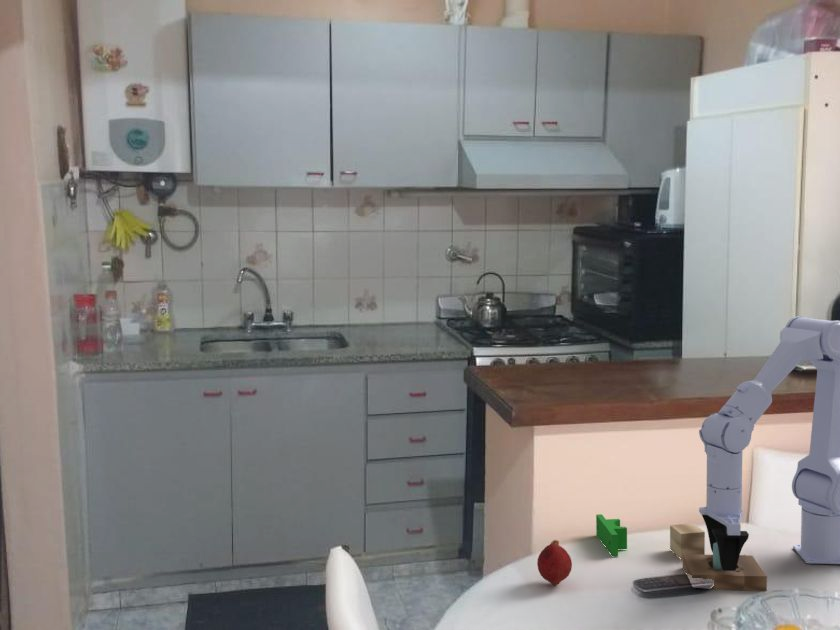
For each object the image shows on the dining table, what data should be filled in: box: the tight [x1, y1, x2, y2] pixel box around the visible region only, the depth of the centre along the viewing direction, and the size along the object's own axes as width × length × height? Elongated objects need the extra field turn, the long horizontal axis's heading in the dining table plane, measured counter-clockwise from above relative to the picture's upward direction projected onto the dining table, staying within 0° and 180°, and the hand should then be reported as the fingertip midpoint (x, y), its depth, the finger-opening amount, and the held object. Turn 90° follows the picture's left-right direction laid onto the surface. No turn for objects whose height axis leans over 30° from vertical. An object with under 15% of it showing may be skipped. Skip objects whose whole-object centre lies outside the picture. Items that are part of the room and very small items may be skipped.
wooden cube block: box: [669, 522, 706, 559], centre depth 159 cm, size 5×5×5 cm
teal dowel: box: [712, 542, 722, 570], centre depth 148 cm, size 3×3×6 cm
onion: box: [536, 539, 573, 586], centre depth 147 cm, size 6×6×8 cm
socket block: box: [682, 554, 768, 592], centre depth 148 cm, size 12×9×2 cm
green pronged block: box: [595, 513, 628, 557], centre depth 164 cm, size 11×4×5 cm, turn 3°
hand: (723, 560), depth 148 cm, fingers open, 7 cm apart
